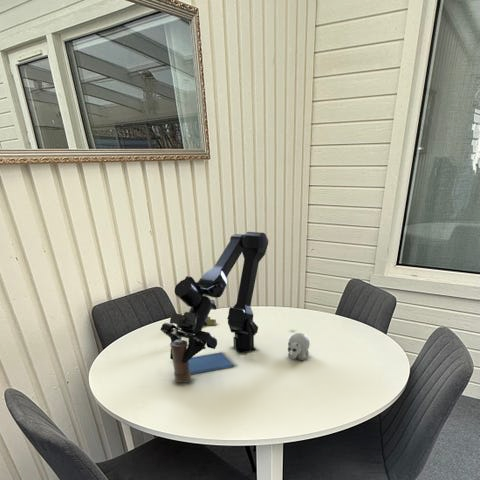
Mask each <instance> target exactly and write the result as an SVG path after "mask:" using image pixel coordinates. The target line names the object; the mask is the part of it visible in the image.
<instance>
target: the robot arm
mask: <svg viewBox="0 0 480 480" xmlns="http://www.w3.org/2000/svg"><path fill="white" fill-rule="evenodd" d="M268 246H269V238H268V237H267V234H266V233H265V232H261V231H260V232H259V231H246V232H245V233H243V234H242V233H234V234H232V235H231V236H230V238H229V242H228V244H227V245H226V247H225V248H224V250H223V251H222V253H221V255H220V256H219V258H218V260H217V261H216V262H215V264H214V266H213V267H212V268H211V269H208V270H207V271H205V273H204V274H202V275H201V277H200V278H199V280H198V281H195V279H194V278H193V276H189V275H186V276H185V278H184V279H182V280H180V281H179V282H178V283H177V284H176V285H175V287H174V295H175V296H176V297H177V298H178V299H180V301H181V302H183V304H185V305H186V306H187V307H188V308H189V307H190V308H189V310H188V311H185V312H184V313H183V314H182V313H176V312H171V314H170V319H169V322H164V323H163V324H162V325H161V327H160V329H159V330H160V331H161V332H162V333H164V334H165V335H166V336H167V337H168V338H169V339H170V343H171V342H173V341H175V340H182V337H185V338H189V345H187V350H186V352H185V355H184V357H183V360H182V362H183V363H186V362H187V361H188V360H189V359H191V358H193V357H195V355H197V354H198V353H200V352H201V351H203V350H206V349H207V348H209V349H212V350H215V349H216V348H217V346H218V340H217V338H216V337H215V336H214V335H213V334H211V332H208V331H204V330H203V328H204V327H208V326H207V323H206V322H205V321H206V319H207V317H209V315H210V313H211V310H217V305H216V300H213V299H211V298H215V299H218V298H220V297H222V295H223V294H224V292H225V289H226V288H227V285H228V283H227V281H228V279H227V278H228V276H229V274H230V272H231V271H232V269H233V268H234V266H235V264H236V263H237V262H238V260H239V257H240V256H241V254H242V256H243V264H242V270H241V275H240V276H241V277H240V281H239V286H238V293H237V298H236V303H235V304H234V306H231V307H229V308H228V316H227V318H226V319H227V325H228V327H229V331H230V332H231V333H233V334H234V336H233V338H232V339H233V345H232V347H233V349H234V350H235V351H237V352H238V353H239V354H242V353H247V352H255V351H256V347H255V336H256V334H257V333H258V331H259V326H258V325H257V324H256V323H255V322H254V312H253V309H252V301H253V295H254V291H255V284H256V279H257V273H258V269H259V264H260V262H261V260H262V259H263V258H264V257H265V255H266V253H267V249H268ZM210 297H211V298H210ZM177 326H178V327H179V328H181V330H179V329H178V328H177ZM185 334H186V335H185ZM169 359H170V360H172V361H173V356H172V349H171V348H170V356H169Z"/></svg>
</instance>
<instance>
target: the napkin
mask: <svg viewBox="0 0 480 480" xmlns="http://www.w3.org/2000/svg"><path fill="white" fill-rule="evenodd" d="M188 361H189V370H190V374H191V376H192V375H196V374H202V373H207V372H212V371H218V370H224V369H228V368H234V367H235V365H234V364H233V363H232V362H231V361H230V359H229V358H227V357H226V355H224V354H223V352H216V353H210V354H205V355H199V356H193V357H192V358H191V359H189V360H188Z"/></svg>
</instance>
